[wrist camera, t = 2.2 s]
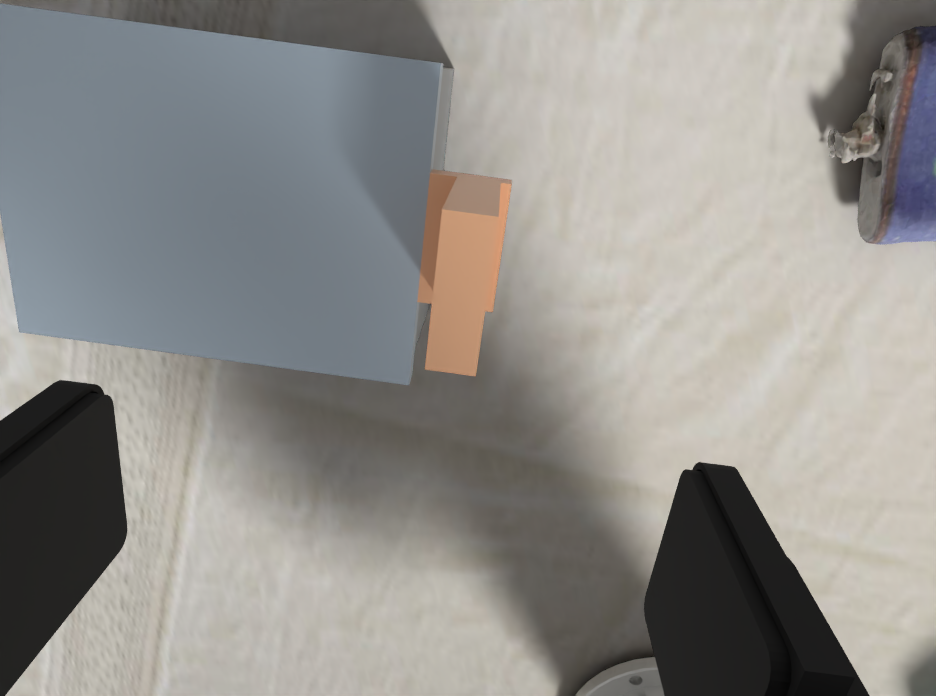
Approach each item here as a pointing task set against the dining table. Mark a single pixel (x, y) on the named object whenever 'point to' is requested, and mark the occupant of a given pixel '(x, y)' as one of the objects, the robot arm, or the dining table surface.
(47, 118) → the lid
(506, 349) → the dining table surface
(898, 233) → the blue clover book
